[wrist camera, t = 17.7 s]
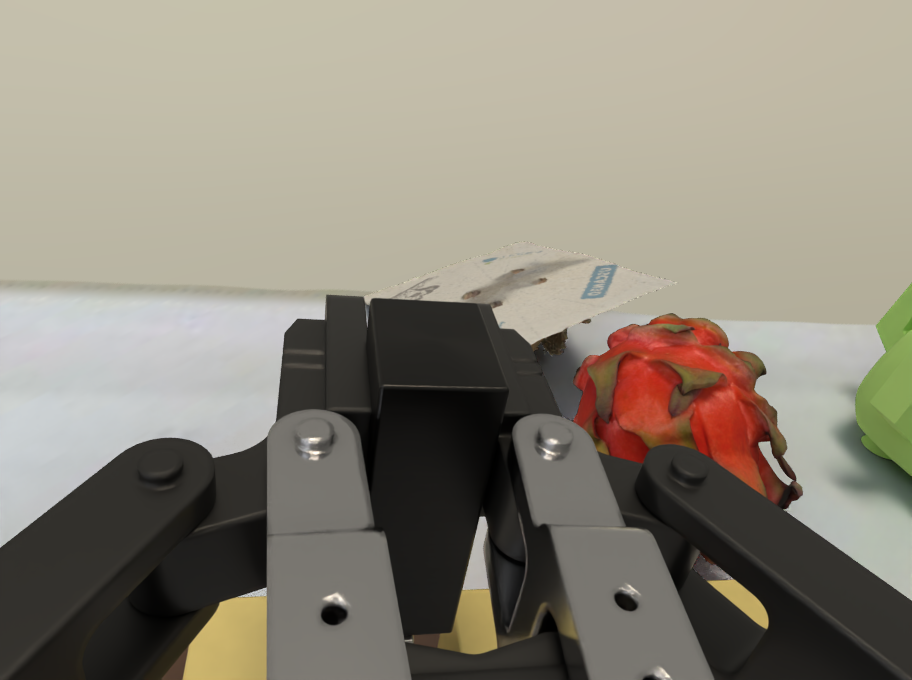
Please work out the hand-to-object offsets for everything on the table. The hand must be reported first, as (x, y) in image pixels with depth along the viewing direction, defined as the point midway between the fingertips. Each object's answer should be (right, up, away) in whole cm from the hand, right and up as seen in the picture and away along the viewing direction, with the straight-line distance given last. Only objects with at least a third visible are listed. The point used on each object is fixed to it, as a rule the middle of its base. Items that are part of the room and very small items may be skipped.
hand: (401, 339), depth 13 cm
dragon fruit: (+10, -7, +16) cm, 20 cm away
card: (+6, -2, +23) cm, 24 cm away
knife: (-1, -11, +4) cm, 12 cm away
